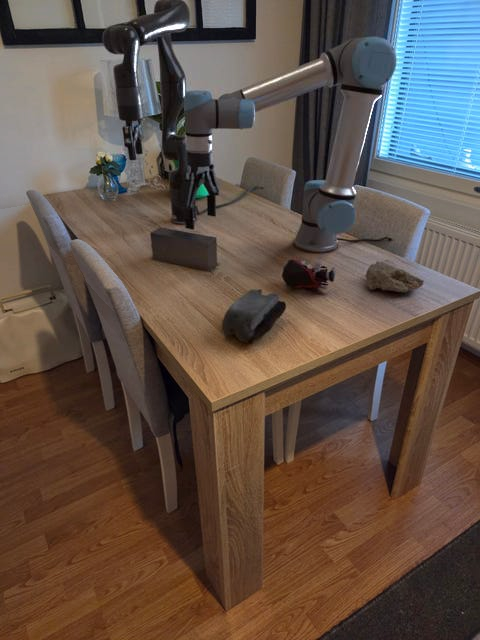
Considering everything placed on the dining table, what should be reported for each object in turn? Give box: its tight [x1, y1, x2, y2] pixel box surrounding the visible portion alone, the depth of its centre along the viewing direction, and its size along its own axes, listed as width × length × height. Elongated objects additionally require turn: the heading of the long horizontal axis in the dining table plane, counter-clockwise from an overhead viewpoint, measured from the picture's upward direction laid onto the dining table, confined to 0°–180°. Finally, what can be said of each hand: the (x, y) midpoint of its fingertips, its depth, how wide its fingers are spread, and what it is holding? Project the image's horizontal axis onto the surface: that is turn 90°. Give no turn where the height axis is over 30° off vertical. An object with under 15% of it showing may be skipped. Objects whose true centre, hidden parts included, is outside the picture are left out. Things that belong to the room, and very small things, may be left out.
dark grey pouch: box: [221, 289, 287, 345], centre depth 112 cm, size 18×11×8 cm, turn 152°
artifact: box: [365, 259, 424, 293], centre depth 134 cm, size 18×8×15 cm
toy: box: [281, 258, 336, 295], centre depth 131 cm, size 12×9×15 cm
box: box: [149, 226, 218, 272], centre depth 148 cm, size 22×6×10 cm, turn 64°
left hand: (136, 156), depth 147 cm, fingers open, 8 cm apart
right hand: (201, 222), depth 139 cm, fingers open, 13 cm apart
